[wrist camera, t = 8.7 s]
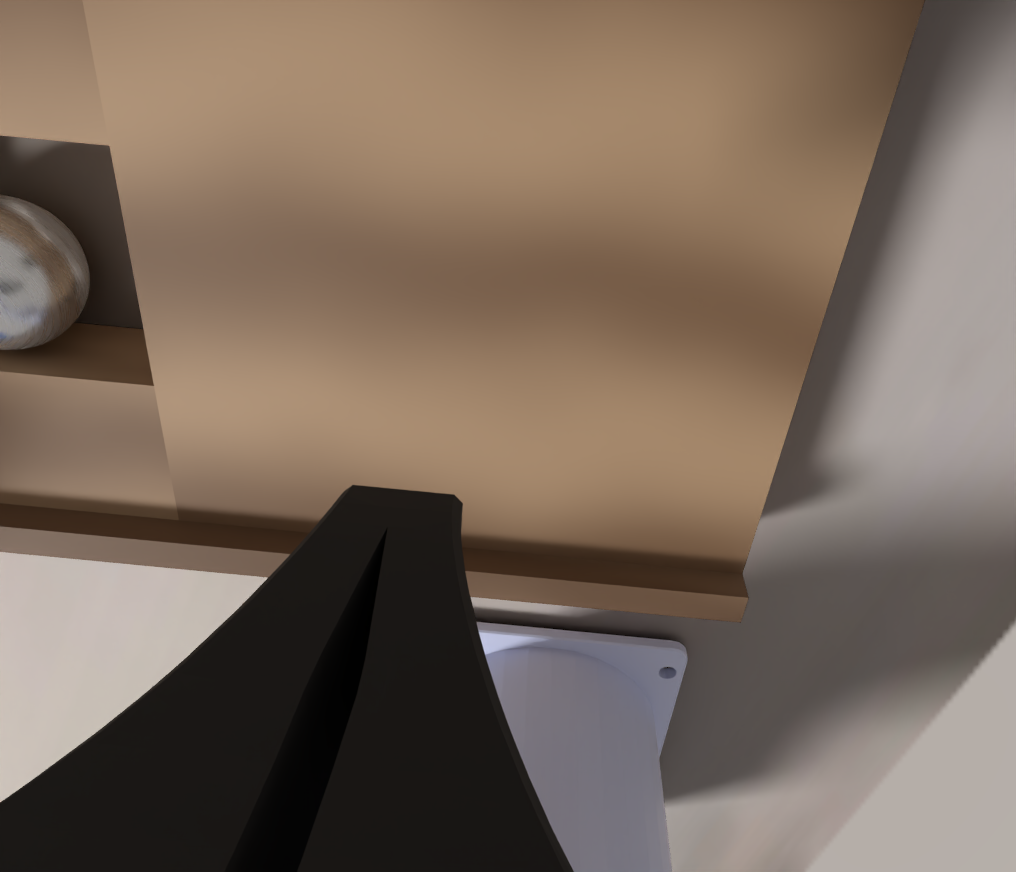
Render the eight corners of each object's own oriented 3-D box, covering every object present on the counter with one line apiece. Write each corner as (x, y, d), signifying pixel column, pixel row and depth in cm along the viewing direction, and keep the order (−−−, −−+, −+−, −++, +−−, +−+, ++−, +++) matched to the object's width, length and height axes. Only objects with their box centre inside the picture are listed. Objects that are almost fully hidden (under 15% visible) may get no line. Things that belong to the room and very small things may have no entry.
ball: (139, 296, 19) (64, 385, 17) (19, 290, 20) (-70, 375, 17) (80, 168, 17) (-15, 251, 15) (-54, 164, 17) (-166, 245, 15)
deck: (718, 532, 22) (740, 622, 19) (-57, 458, 22) (-146, 537, 19) (892, -83, 14) (973, -79, 12) (-298, -193, 14) (-503, -216, 12)
